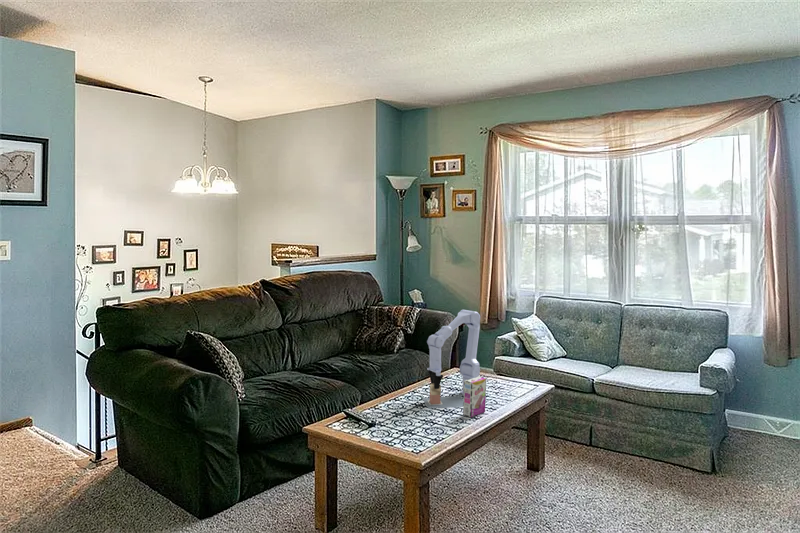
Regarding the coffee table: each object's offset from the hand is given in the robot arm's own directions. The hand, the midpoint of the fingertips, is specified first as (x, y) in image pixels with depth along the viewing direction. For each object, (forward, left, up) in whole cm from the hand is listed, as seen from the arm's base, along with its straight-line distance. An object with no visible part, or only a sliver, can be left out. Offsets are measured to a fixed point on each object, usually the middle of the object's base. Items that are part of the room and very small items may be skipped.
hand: (435, 386), depth 272 cm
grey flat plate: (-5, 0, -8) cm, 10 cm away
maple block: (0, 0, -4) cm, 4 cm away
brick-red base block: (0, 0, -8) cm, 8 cm away
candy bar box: (-15, +18, -9) cm, 25 cm away
